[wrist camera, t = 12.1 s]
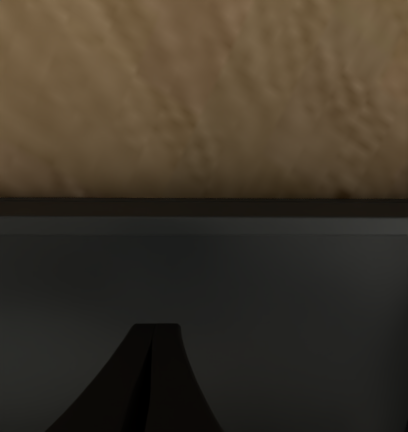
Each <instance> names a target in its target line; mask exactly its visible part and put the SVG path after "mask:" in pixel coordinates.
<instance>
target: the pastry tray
mask: <svg viewBox="0 0 408 432" xmlns="http://www.w3.org/2000/svg"><path fill="white" fill-rule="evenodd" d="M135 323H178V324H179V325H180V326H181V333H182V339H183V343H184V347H185V350H186V354H187V357H188V359H189V362H190V365H191V367H192V370H193V372H194V375H195V377H196V380H197V382H198V384H199V386H200V388H201V390H202V392H203V394H204V397H205V399H206V401H207V403H208V404H209V406H210V408H211V410H212V412H213V414H214V415H215V417H216V419H217V421H218V422H219V424H220V426H221V427H222V429H223V431H224V432H408V199H215V198H0V432H45V431H46V430H47V429H48V428H49V427H50V426H51V425H52V424H53V423H54V422H55V421H56V420H57V419H58V418H59V417H60V416H61V415H62V414H63V413H64V412H65V411H66V410H67V408H68V407H69V406H70V405H71V404H72V403H73V402H74V401H75V400H76V399H77V398H78V396H79V395H80V394H81V393H82V392H83V391H84V389H85V388H86V387H87V386H88V385H89V384H90V383H91V381H92V380H93V379H94V378H95V377H96V375H97V374H98V373H99V372H100V370H101V369H102V368H103V366H104V365H105V364H106V363H107V361H108V360H109V359H110V357H111V356H112V355H113V353H114V352H115V351H116V349H117V348H118V346H119V345H120V344H121V342H122V341H123V339H124V338H125V336H126V335H127V333H128V331H129V330H130V328H131V327H132V326H133V325H134V324H135Z"/></svg>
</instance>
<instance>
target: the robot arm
mask: <svg viewBox="0 0 408 432" xmlns="http://www.w3.org/2000/svg"><path fill="white" fill-rule="evenodd" d="M45 432H224V431H223V429H222V427H221V426H220V424H219V422H218V421H217V419H216V417H215V415H214V414H213V412H212V410H211V408H210V406H209V404H208V403H207V401H206V399H205V397H204V394H203V392H202V390H201V388H200V386H199V384H198V382H197V380H196V377H195V375H194V372H193V370H192V367H191V365H190V362H189V359H188V357H187V354H186V350H185V347H184V343H183V339H182V333H181V326H180V325H179V324H178V323H135V324H134V325H133V326H132V327H131V328H130V330H129V331H128V333H127V335H126V336H125V338H124V339H123V341H122V342H121V344H120V345H119V346H118V348H117V349H116V351H115V352H114V353H113V355H112V356H111V357H110V359H109V360H108V361H107V363H106V364H105V365H104V366H103V368H102V369H101V370H100V372H99V373H98V374H97V375H96V377H95V378H94V379H93V380H92V381H91V383H90V384H89V385H88V386H87V387H86V388H85V389H84V391H83V392H82V393H81V394H80V395H79V396H78V398H77V399H76V400H75V401H74V402H73V403H72V404H71V405H70V406H69V407H68V408H67V410H66V411H65V412H64V413H63V414H62V415H61V416H60V417H59V418H58V419H57V420H56V421H55V422H54V423H53V424H52V425H51V426H50V427H49V428H48V429H47V430H46V431H45Z"/></svg>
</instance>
